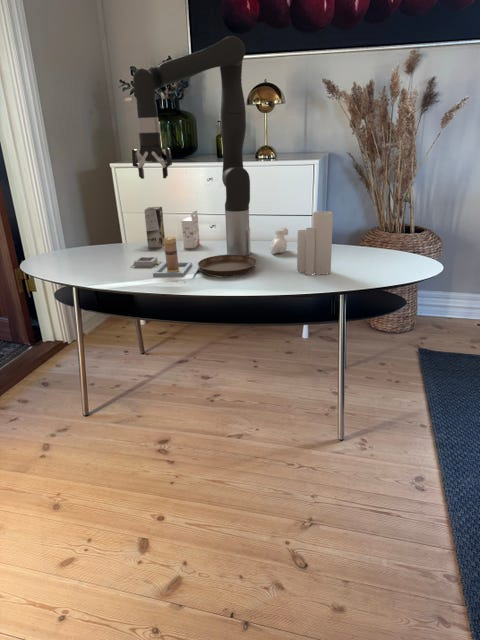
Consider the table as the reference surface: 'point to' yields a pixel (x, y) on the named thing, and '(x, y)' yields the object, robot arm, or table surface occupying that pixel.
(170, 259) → the cylinder
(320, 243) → the vase
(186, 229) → the ink cartridge box
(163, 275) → the parts tray
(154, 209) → the coffee box
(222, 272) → the plant saucer
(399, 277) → the table surface
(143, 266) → the fuse block
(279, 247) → the bust
